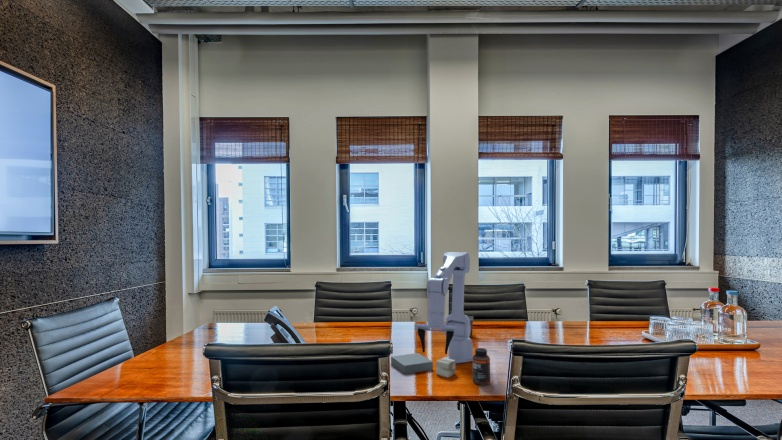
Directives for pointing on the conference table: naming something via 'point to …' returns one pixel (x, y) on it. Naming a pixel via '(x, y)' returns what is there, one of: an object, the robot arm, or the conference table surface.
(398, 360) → the blue-gray box
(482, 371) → the supplement bottle
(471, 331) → the food container
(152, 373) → the conference table surface
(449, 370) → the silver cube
